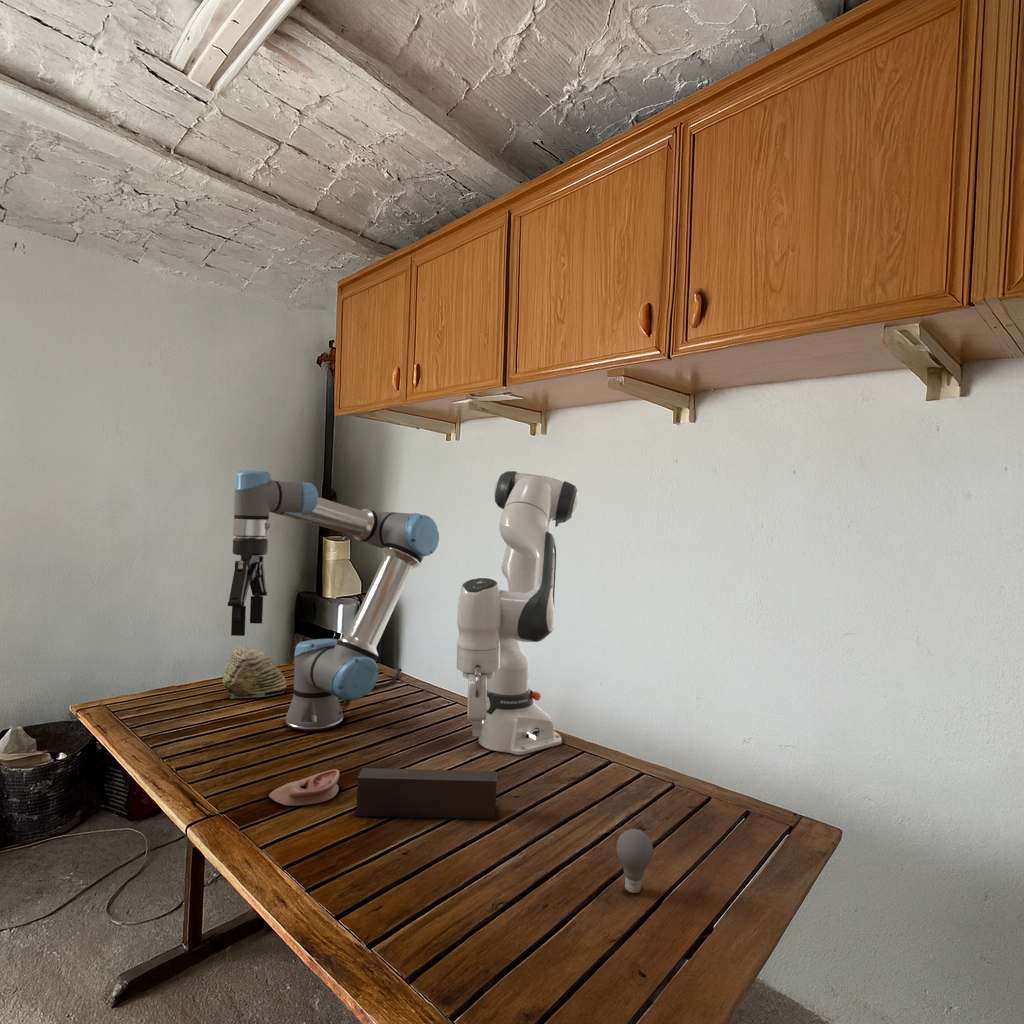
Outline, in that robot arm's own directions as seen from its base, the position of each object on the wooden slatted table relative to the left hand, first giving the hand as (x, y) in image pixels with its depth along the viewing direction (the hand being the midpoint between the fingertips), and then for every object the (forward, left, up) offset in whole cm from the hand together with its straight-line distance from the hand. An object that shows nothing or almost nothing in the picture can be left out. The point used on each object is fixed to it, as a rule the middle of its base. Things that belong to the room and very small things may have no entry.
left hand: (247, 629), depth 146 cm
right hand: (-21, +54, -14) cm, 59 cm away
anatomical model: (-2, +22, -32) cm, 39 cm away
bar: (-14, +47, -32) cm, 58 cm away
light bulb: (-19, +91, -32) cm, 98 cm away
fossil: (-29, -46, -32) cm, 63 cm away
